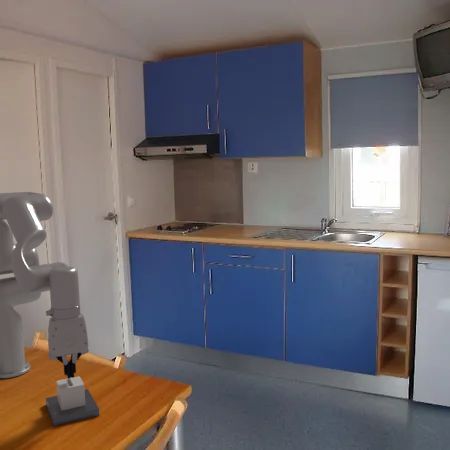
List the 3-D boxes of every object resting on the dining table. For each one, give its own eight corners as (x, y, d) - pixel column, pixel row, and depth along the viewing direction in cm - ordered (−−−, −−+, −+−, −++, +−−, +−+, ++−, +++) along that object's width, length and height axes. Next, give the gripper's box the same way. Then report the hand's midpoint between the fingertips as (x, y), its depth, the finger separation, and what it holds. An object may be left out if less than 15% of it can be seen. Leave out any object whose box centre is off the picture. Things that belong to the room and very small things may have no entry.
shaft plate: (46, 404, 150) (44, 384, 149) (88, 395, 155) (87, 376, 154) (53, 426, 137) (52, 404, 137) (99, 415, 143) (98, 394, 142)
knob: (57, 401, 147) (56, 379, 147) (80, 396, 150) (79, 375, 149) (61, 410, 142) (60, 388, 141) (85, 405, 145) (84, 383, 144)
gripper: (39, 320, 136) (44, 387, 138) (96, 311, 143) (100, 375, 145) (35, 313, 143) (40, 377, 145) (90, 305, 149) (94, 366, 151)
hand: (70, 376), depth 145 cm, fingers closed
